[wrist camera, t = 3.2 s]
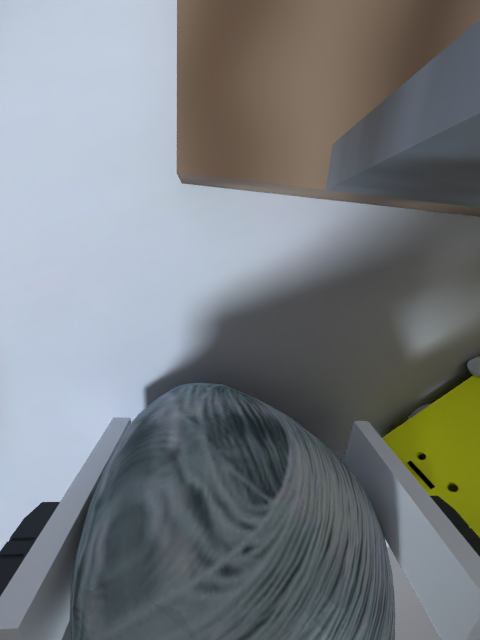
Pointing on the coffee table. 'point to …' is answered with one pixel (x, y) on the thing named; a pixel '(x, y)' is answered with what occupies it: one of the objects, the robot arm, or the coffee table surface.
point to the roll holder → (332, 99)
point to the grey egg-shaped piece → (228, 531)
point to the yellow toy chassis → (446, 447)
